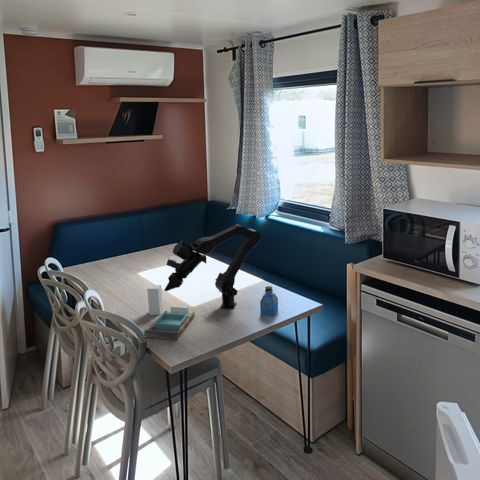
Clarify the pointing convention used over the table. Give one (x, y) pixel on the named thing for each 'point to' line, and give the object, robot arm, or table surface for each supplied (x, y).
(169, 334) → the dock
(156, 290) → the light grey block
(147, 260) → the table surface
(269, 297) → the perfume bottle
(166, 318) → the tray
